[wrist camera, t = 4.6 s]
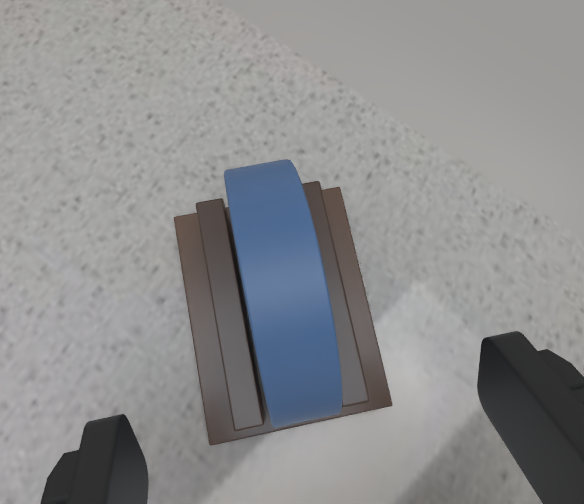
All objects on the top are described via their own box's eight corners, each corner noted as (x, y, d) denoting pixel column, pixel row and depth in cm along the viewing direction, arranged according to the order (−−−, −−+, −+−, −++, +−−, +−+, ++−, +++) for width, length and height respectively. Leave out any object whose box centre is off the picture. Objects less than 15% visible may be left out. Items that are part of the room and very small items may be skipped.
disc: (283, 208, 21) (288, 108, 13) (325, 406, 19) (359, 425, 11) (236, 217, 21) (212, 121, 13) (273, 417, 19) (272, 445, 11)
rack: (335, 198, 23) (348, 161, 19) (384, 403, 21) (409, 409, 17) (180, 227, 22) (160, 195, 18) (214, 440, 20) (199, 456, 16)
